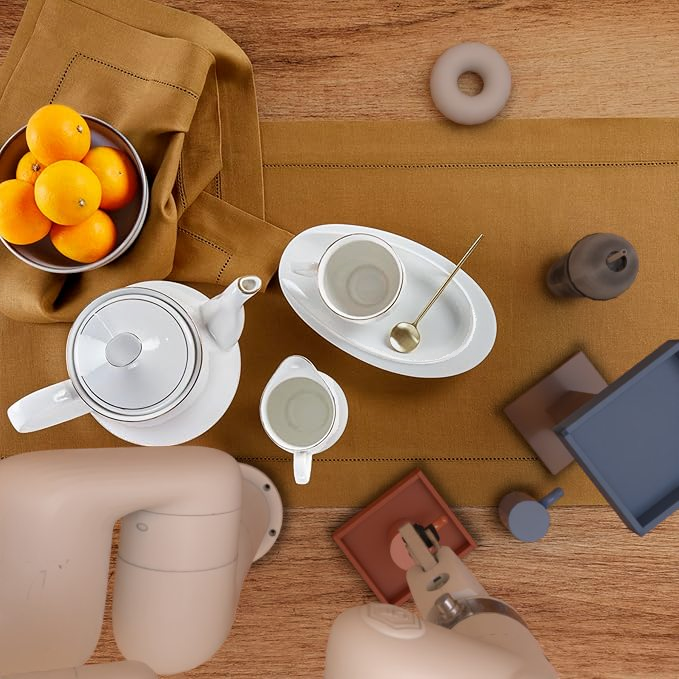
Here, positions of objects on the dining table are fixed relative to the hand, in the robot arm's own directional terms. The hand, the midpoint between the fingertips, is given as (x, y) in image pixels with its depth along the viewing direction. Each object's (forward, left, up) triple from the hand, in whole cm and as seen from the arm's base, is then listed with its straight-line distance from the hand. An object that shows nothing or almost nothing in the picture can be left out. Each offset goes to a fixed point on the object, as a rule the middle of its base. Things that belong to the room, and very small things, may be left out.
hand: (450, 574), depth 64 cm
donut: (+37, +41, -16) cm, 57 cm away
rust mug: (-1, +1, -15) cm, 15 cm away
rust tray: (-3, +2, -16) cm, 16 cm away
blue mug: (+12, -4, -16) cm, 20 cm away
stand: (+22, +2, -16) cm, 27 cm away
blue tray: (+22, +2, +6) cm, 23 cm away
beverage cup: (+32, +15, -16) cm, 39 cm away
